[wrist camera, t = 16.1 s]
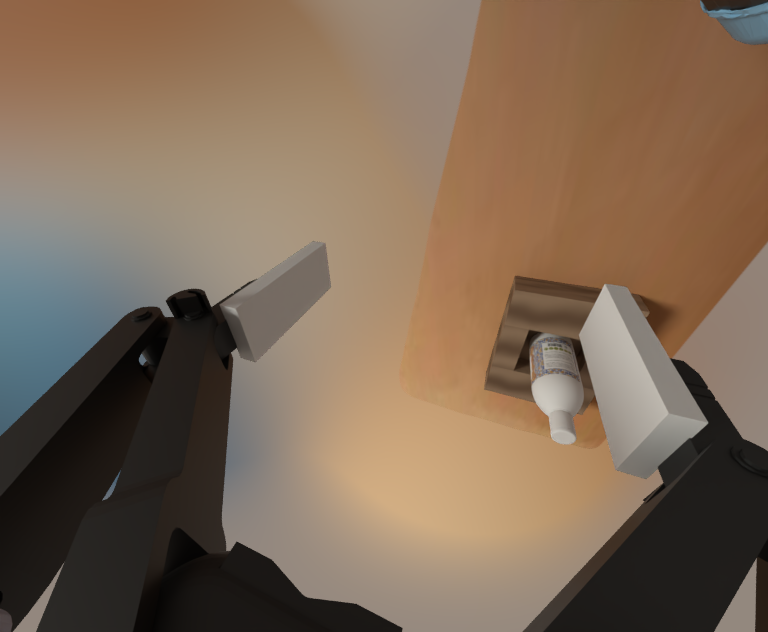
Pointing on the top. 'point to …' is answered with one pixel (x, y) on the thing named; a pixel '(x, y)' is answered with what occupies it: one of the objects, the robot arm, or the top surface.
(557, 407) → the bath foam
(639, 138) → the top surface
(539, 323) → the walnut holder
